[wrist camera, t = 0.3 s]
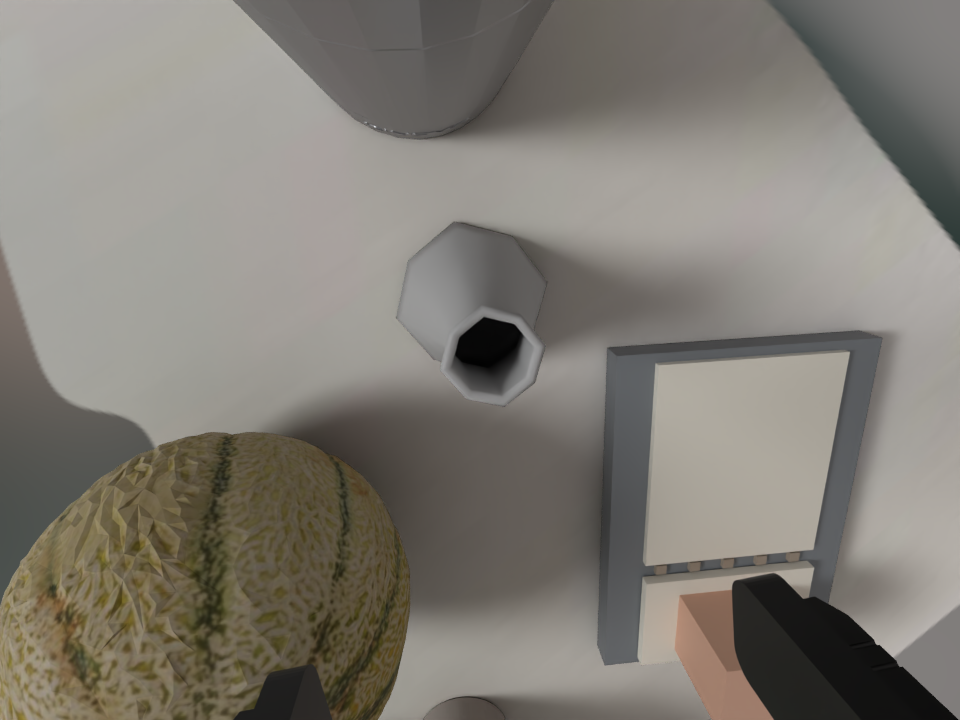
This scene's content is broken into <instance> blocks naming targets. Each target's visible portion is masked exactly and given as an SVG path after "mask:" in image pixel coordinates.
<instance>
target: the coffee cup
mask: <svg viewBox="0 0 960 720" xmlns="http://www.w3.org/2000/svg"><path fill="white" fill-rule="evenodd" d="M423 720H505V718H504V716H503V714H502V712H501V711H500V710H499V709H498V708H497V707H496V706H495V705H493V704H491V703H490V702H488V701H485V700H482V699H478V698H471V697H463V698H456V699H451V700H448V701H445V702H443V703H441V704H439V705H438V706H436V707H434V708H433V709H432V710H431V711H430V712H429V713H428V714H427V715H426V716H425V717H424V719H423Z"/></svg>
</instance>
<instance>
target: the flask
mask: <svg viewBox="0 0 960 720" xmlns="http://www.w3.org/2000/svg"><path fill="white" fill-rule="evenodd" d="M546 285H547V281H546V280H545V279H544V277H543V276H542V275H541V273H540V272H539V271H538V269H537V268H536V267H535V265H534V264H533V263H532V262H531V260H530V259H529V258H528V256H527V255H526V254H525V252H524V251H523V250H522V249H521V247H520V246H519V245H518V243H517V242H516V241H515V239H514V238H513V237H512V236H509V235H505V234H501V233H497V232H493V231H489V230H485V229H481V228H478V227H474V226H470V225H466V224H462V223H458V222H453V223H452V224H450V225H449V226H448V227H447V228H446V229H445V230H443V231H442V232H441V233H440V234H439V235H437V236H436V237H435V238H434V239H433V240H432V241H430V242H429V243H428V244H427V245H426V246H425V247H423V248H422V249H421V250H420V251H419V252H418V253H416V254H415V255H414V256H413V257H412V258H411V259H409V260H408V263H407V268H406V273H405V277H404V282H403V287H402V292H401V297H400V301H399V306H398V311H397V316H396V318H397V319H398V321H399V322H400V323H401V324H402V325H403V326H404V327H405V328H406V329H407V331H408V332H409V333H410V334H411V335H412V336H413V337H414V338H415V339H416V340H417V342H418V343H419V344H420V345H421V346H422V347H423V348H424V349H425V350H426V352H427V353H428V354H429V355H430V356H431V357H432V358H433V359H434V360H437V361H441V366H440V371H441V372H442V373H443V374H444V375H445V376H446V377H447V379H448V380H449V381H450V382H451V383H452V384H453V385H454V386H455V387H456V388H457V390H458V391H459V392H460V393H461V394H462V395H463V396H464V397H465V398H466V399H468V400H473V401H478V402H483V403H487V404H492V405H497V406H502V407H505V406H506V405H507V404H508V403H510V402H511V401H512V400H514V399H515V398H516V397H517V396H519V395H520V394H521V393H523V392H524V391H525V390H526V389H528V388H529V387H530V386H532V385H533V384H534V383H535V381H536V377H537V374H538V371H539V367H540V364H541V361H542V357H543V354H544V350H545V347H546V345H545V343H544V342H543V341H542V340H541V338H540V337H539V336H538V335H537V333H536V332H535V331H534V327H535V324H536V320H537V317H538V313H539V310H540V306H541V303H542V299H543V296H544V292H545V289H546Z"/></svg>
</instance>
